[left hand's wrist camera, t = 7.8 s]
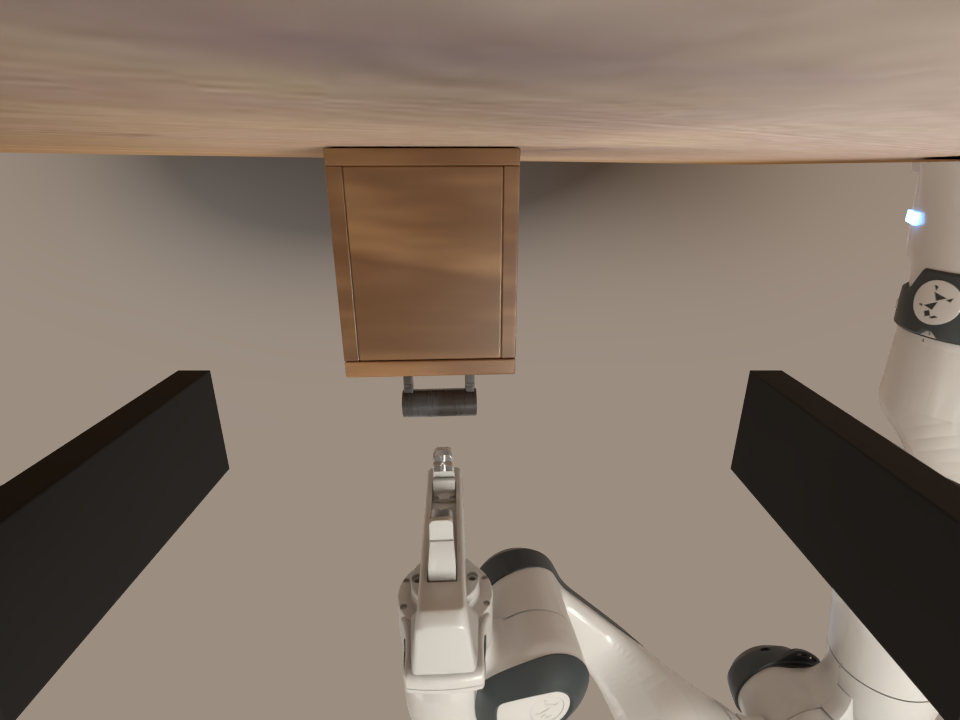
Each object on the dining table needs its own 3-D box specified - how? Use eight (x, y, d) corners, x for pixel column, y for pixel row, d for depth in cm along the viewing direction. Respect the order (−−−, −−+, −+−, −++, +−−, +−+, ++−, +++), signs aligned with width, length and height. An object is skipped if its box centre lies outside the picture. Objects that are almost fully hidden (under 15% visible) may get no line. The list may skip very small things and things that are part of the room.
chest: (496, 156, 36) (495, 300, 39) (367, 156, 35) (378, 301, 39) (520, 147, 23) (515, 358, 27) (322, 147, 23) (344, 361, 27)
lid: (495, 298, 40) (494, 402, 43) (379, 300, 40) (387, 404, 43) (515, 359, 27) (512, 500, 30) (344, 362, 27) (358, 505, 30)
